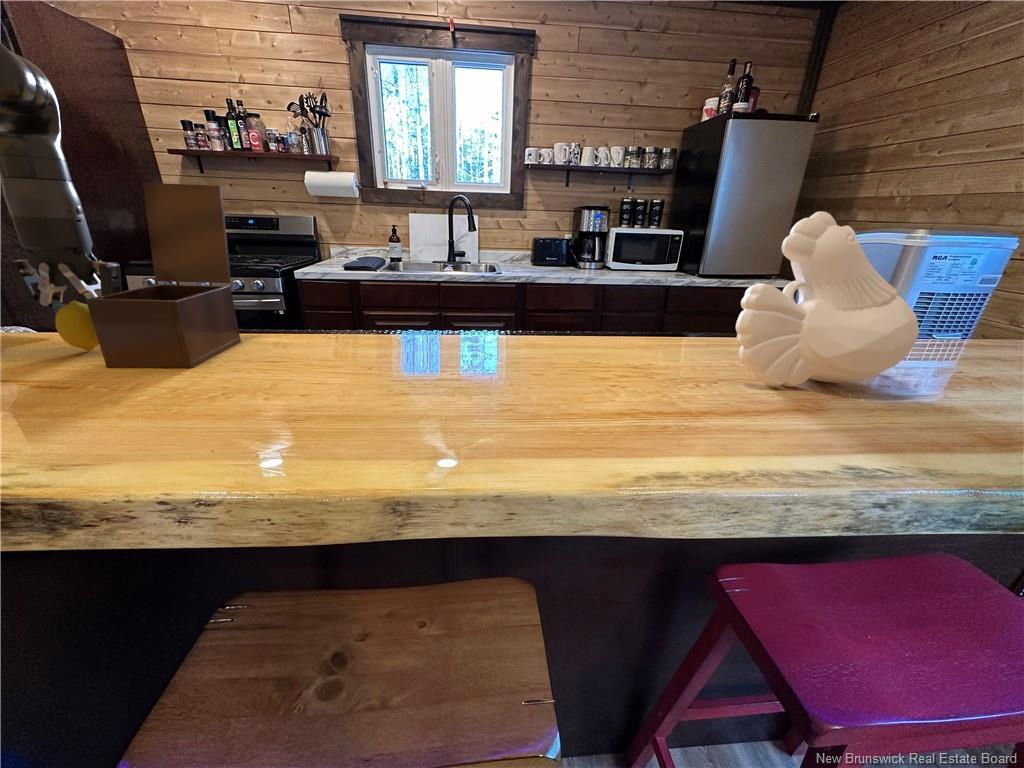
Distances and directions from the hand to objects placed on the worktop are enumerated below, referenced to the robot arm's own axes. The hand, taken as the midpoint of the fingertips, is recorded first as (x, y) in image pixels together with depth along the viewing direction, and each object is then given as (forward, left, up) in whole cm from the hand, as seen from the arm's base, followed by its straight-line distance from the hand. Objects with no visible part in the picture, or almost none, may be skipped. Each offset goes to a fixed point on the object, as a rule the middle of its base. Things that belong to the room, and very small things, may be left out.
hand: (85, 328), depth 68 cm
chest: (+14, -1, -3) cm, 14 cm away
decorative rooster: (+113, -11, -4) cm, 114 cm away
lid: (+14, +7, +14) cm, 21 cm away
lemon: (0, 0, -4) cm, 4 cm away
